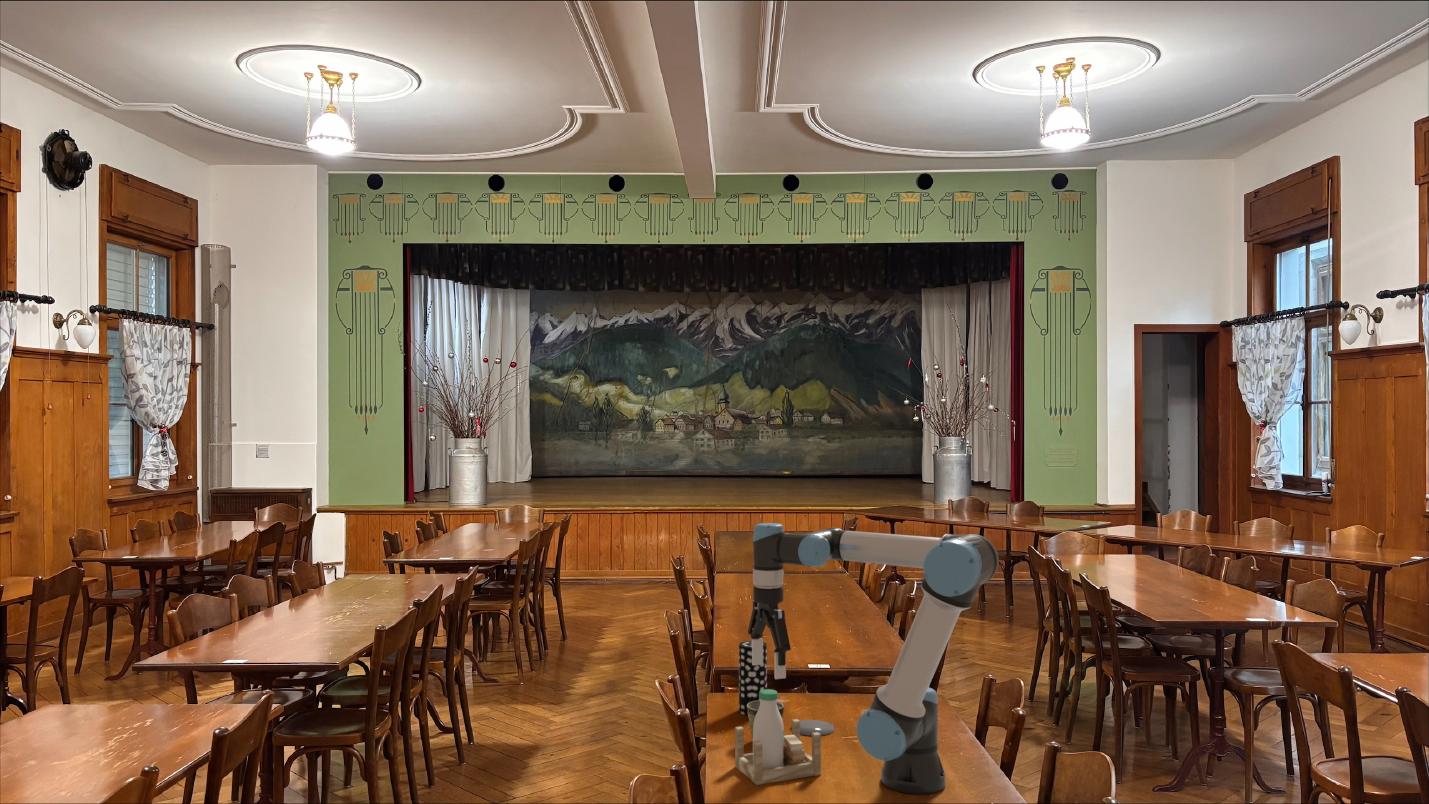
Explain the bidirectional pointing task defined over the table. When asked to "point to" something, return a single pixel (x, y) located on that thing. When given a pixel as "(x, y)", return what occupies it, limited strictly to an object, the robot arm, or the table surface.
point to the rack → (777, 773)
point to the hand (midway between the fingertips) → (768, 671)
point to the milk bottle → (769, 730)
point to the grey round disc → (815, 727)
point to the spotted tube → (750, 676)
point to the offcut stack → (793, 750)
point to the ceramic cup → (753, 710)
